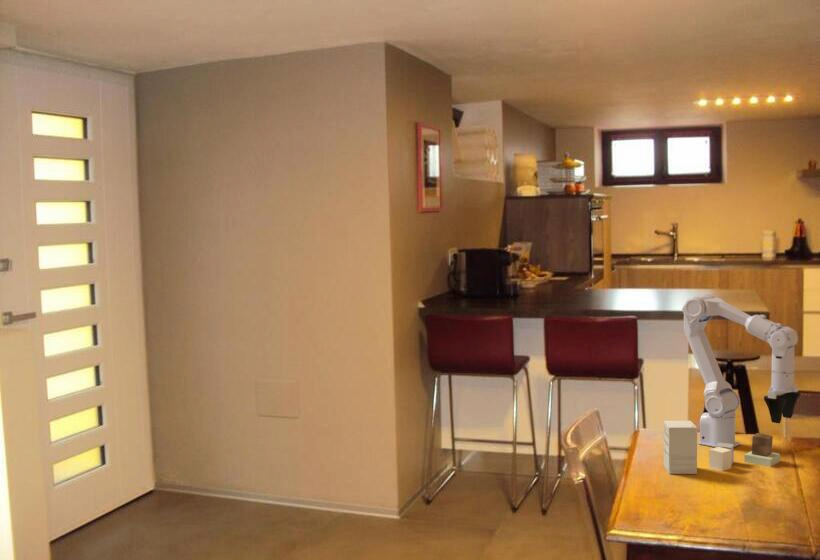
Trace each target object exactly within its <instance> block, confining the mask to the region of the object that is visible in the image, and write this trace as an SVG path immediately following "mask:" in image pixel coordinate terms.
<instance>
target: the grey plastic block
mask: <svg viewBox="0 0 820 560" xmlns="http://www.w3.org/2000/svg"><path fill="white" fill-rule="evenodd" d="M716 447H721V448H725V449H730V450H732V452H731V466H732V465H733V463H734V461H735V460H734V458H735V457H734V453H735V450H734V449H735V447H734V444H728V443H720V442H718V444H717V445H716ZM716 447H715V448H716Z"/></svg>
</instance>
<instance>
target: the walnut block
mask: <svg viewBox="0 0 820 560" xmlns="http://www.w3.org/2000/svg"><path fill="white" fill-rule="evenodd" d="M773 437H774V436H773V435H771V434H765V433H760V432H757V433H755V434H754V435H752V440H751V441H752V442H751V445H752V447H751V451H752V454H755V455H760V456H765V457H767V456H769V455H770V454H772V452H773V440H774V439H773Z"/></svg>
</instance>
